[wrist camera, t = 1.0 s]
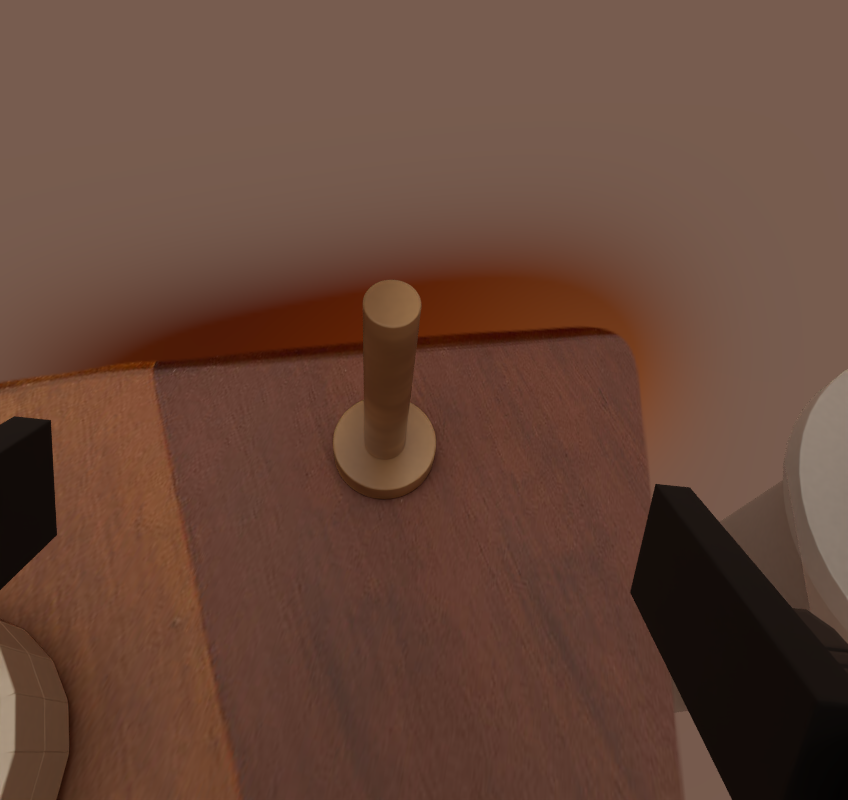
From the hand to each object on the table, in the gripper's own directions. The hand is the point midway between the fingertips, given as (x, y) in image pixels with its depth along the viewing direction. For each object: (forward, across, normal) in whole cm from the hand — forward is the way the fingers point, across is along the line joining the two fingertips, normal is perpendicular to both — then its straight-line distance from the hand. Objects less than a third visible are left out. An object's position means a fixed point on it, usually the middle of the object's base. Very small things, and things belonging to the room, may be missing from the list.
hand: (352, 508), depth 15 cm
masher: (+22, 0, -8) cm, 24 cm away
